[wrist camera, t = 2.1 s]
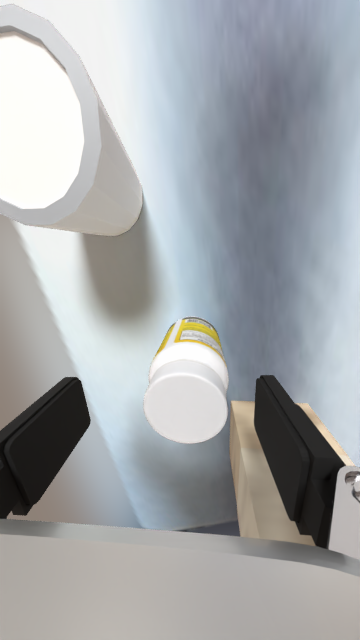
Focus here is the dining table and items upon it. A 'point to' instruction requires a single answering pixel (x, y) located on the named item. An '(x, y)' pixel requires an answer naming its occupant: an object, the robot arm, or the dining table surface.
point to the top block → (265, 501)
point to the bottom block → (247, 436)
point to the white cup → (58, 136)
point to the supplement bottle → (188, 383)
